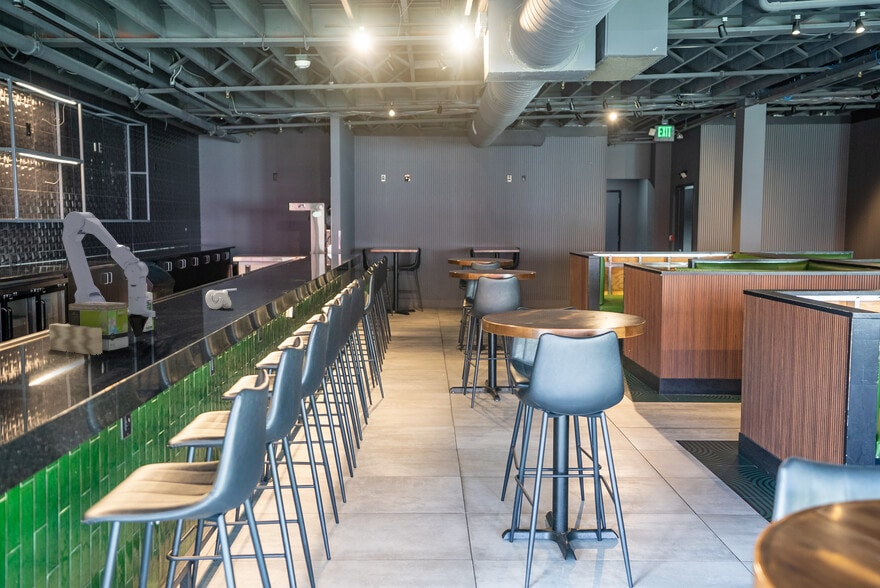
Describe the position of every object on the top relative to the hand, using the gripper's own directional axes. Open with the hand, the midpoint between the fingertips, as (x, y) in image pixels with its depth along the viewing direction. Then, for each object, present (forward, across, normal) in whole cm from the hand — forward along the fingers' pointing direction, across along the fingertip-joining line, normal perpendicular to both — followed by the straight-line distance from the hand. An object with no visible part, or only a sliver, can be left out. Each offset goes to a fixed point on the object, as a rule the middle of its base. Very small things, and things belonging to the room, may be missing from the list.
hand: (138, 336), depth 250 cm
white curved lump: (+2, -44, +88) cm, 98 cm away
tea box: (+2, 0, -16) cm, 16 cm away
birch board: (+2, 0, -24) cm, 25 cm away
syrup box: (+2, -18, +18) cm, 26 cm away
